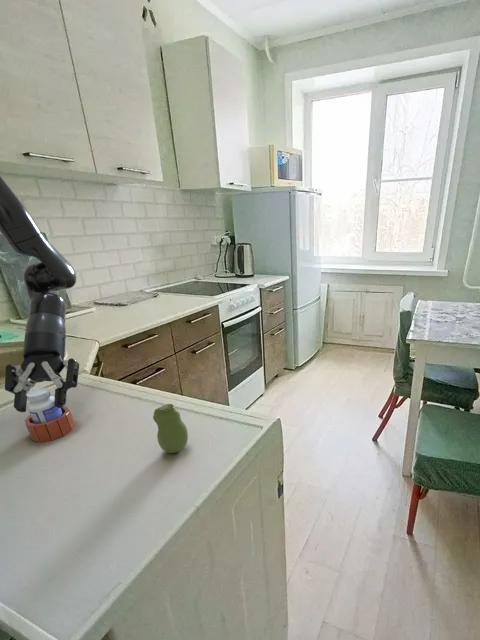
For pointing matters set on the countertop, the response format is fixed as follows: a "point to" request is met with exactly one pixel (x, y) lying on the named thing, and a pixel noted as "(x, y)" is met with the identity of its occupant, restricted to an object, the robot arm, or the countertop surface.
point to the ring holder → (51, 427)
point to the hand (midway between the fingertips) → (40, 408)
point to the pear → (170, 429)
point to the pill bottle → (42, 406)
